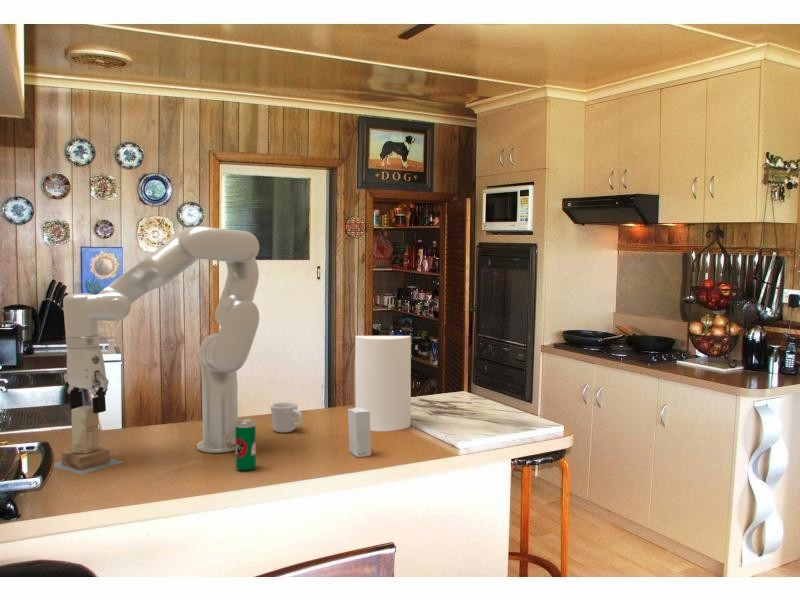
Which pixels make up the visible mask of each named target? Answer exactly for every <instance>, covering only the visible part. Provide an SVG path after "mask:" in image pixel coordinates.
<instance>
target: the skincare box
mask: <svg viewBox="0 0 800 600" xmlns="http://www.w3.org/2000/svg"><path fill="white" fill-rule="evenodd" d="M347 420H348V423H347V425H348V447H349V449H348V450H349V453H350V454H352V455H353V456H355V457H356V458H364V457H370V456H371V455H372V441H371V440H372V439H371V436H372V435H371V431H370V411H368V410H366V409H364V408H362V407H357V408H356V407H352V408H351V407H350V408H347Z"/></svg>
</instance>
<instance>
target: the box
mask: <svg viewBox="0 0 800 600" xmlns="http://www.w3.org/2000/svg"><path fill="white" fill-rule="evenodd" d="M70 410H71V412H70V413H71V450H72V453H86V454H87V453H89V452H92V451H95V450H97V449H99V447H100V439H99V438H100V434H99V433H100V432H99V431H100V430H99V429H100V428H99V425H100V423H99V413H96V414H95V413H93V405H83V406H81V407H78V408H75V409H70Z"/></svg>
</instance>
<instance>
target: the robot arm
mask: <svg viewBox="0 0 800 600" xmlns="http://www.w3.org/2000/svg"><path fill="white" fill-rule="evenodd" d="M259 251H260V243H259V240H258V238H257V237H256V235H254V234H253V233H251V232H250V231H247V230H239V229H227V228H219V227H218V228H217V227H209V226H201V225H199V226H189V227H187V228H184V229H182V230H181V231H179V232H178V233H177V234H176V235H174V236H173V237H172V238H170V239H169V240H168V241H166V242H165V243H164V244H163V245H162V246H160V247H158V249H156V250H154V252H152V253H151V254H150V255H148V256H146V258H144V259H143V260H141V261H139V262H138V263H137V264H136V265H134V266H133V267H132V268H130V269H129V270H127V271H126V272H124V273H123V274H121V275H120V276H119V277H118V278H117V279H115V280H114V281H112V282H111V283H109V284H108V285H106V287H104V288H103V289H102V290H100V292H98V293H97V294H96V293H95V294H93V293H87V292H84V293H83V292H82V293H81V292H79V293H72V294H71V293H70V294H66V295H65V296H64V297H63V298H62V299H63V301H62V305H63V317H64V331H65V332H64V333H65V342H66V343H65V345H66V351H67V352H66V373H65V374H63V380H64V381H65V387H66V388H67V391H66V392H67V394H68V398H69V399H68V400H69V409H70V410H72V409H75V408H78V407H81V406H84V405H83V391H81V389H83V390H89V391H90V392H91V394H92V396H93V397H92V398H91V400H92V401H91V402H92V406H93V413H95V414H96V413H98V414H100V413H103V412H106V411H107V408H106V407H107V405H106V396H107V391H108V386H109V384H110V383H109V379H108V378H107V375H106V367H105V360H104V356H103V352H102V348H101V346H100V335H99V322H101V321H102V322H103V321H104V322H117V321H118V322H119V321H123V320H124V319H126V318H127V317H128V315H129V314H130V313H131V310H132V304H133V303H134V302H136V301H137V300H138V299H140V298H141V297H143V296H144V295H146V294H147V293H149V292H151V291H153V290H157V289H159V288H162V287H163V286H166V285H168V284H169V283H170V282H172V281H173V280H175V278H177V277H178V276H179V275H180V274H181V273H183V272H184V271H185V270H186V269H188V268H189V267H190V266H192V265H193V264H195V263H196V262H197V261H198V260H200V259H201V260H208V261H210V260H211V261H216V262H219V261H220V262H225V264H226V267H227V275H226V279H225V283H224V287H223V288H222V293H221V296H220V298H219V300H218V304H217V306H216V308H215V312H214V318H215V321H216V324H217V325H218V326H219V327H220V329H219V332H218V333H217V332H215V333H212V334H209V335H207V336H206V337H205V338H204V339H203V341H201V344H200V346H199V349H198V358H199V359H198V360H199V367H200V373H201V405H202V406H201V412H202V418H201V419H202V440H201V441H199V442H197V444H196V446H197V447H196V449H197V450H198V451H200V452H203V453H210V454H212V453H214V454H216V453H217V454H218V453H220V454H221V453H229V452H235V426H236V424H237V423H236V422H237V421H239V410H238V408H239V407H238V406H239V405H238V403H239V402H238V390H239V389H238V386H239V385H238V374H237V371H238V370H241V368H242V367H243V366H244V365H245V363H246V362H247V360H248V357H249V355H250V352H251V349H252V346H253V343H254V339H255V337H256V334H257V331H258V327H259V324H260V312H259V308H258V306H257V305H256V304H255V303H254V302H253V300H254V298H255V294H256V292H257V291H256V290H257V287H258V284H259V277H260V275H259V274H260V272H259V270H260V269H259V267H258V262H257V259H256V257H257V256H258V254H259Z"/></svg>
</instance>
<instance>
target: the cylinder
mask: <svg viewBox="0 0 800 600" xmlns="http://www.w3.org/2000/svg"><path fill="white" fill-rule="evenodd" d="M354 346H355V350H354V351H355V353H354V354H355V355H354V357H355V365H354V366H355V370H354V372H355V379H354V380H355V382H354V383H355V408H357V407H362V408H364V409H366V410H368V411H370V432H371V431H372V432H395V431H402V430H405V429H408V428H409V427H411V420H412V417H411V416H412V414H411V413H412V411H411V406H412V404H411V403H412V402H411V401H412V398H411V397H412V396H411V393H412V392H411V389H412V388H411V387H412V386H411V384H412V381H411V380H412V379H411V378H412V376H411V375H412V370H411V369H412V365H411V364H412V359H411V358H412V351H411V350H412V347H411V346H412V336H411V335H355V344H354Z"/></svg>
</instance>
